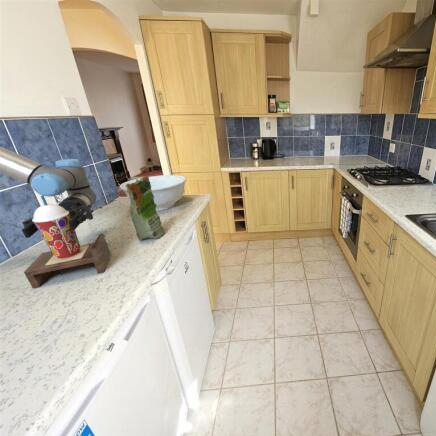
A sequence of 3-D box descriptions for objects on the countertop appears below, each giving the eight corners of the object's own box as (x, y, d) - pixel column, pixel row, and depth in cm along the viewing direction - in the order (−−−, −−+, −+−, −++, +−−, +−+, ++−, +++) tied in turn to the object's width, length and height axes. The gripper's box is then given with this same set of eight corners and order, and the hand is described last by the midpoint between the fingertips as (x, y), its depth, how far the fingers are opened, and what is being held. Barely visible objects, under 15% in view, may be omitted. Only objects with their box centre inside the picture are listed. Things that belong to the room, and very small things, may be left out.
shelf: (32, 288, 73) (18, 263, 70) (49, 267, 83) (37, 245, 80) (103, 272, 80) (94, 248, 76) (111, 254, 90) (103, 233, 86)
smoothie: (90, 250, 81) (66, 193, 73) (60, 263, 74) (30, 202, 66) (76, 245, 84) (52, 190, 76) (46, 258, 77) (16, 198, 69)
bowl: (199, 196, 152) (195, 173, 146) (175, 217, 122) (169, 189, 116) (149, 197, 153) (142, 174, 147) (113, 218, 123) (103, 190, 117)
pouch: (161, 227, 111) (147, 173, 101) (170, 236, 103) (155, 178, 93) (134, 236, 104) (115, 178, 94) (141, 245, 96) (122, 184, 86)
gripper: (113, 210, 96) (99, 233, 77) (39, 221, 87) (4, 250, 69) (107, 192, 93) (90, 211, 74) (30, 201, 84) (-10, 226, 66)
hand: (49, 229), depth 71 cm, fingers open, 10 cm apart
